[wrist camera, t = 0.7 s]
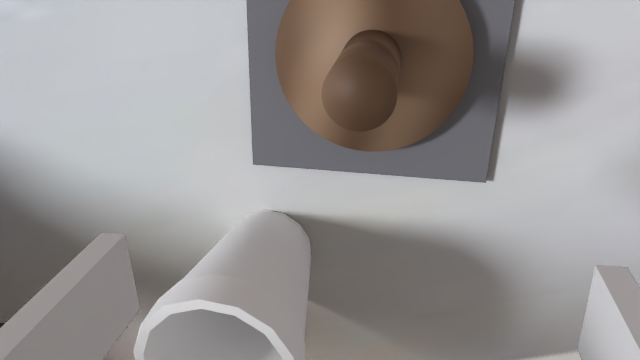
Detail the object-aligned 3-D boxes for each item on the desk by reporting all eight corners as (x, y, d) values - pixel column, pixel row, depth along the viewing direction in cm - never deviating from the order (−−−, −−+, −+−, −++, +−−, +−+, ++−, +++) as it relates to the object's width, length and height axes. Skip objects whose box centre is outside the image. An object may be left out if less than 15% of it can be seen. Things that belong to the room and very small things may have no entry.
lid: (280, 139, 37) (242, 197, 29) (277, -50, 32) (230, -44, 24) (458, 152, 35) (471, 217, 27) (485, -46, 30) (510, -38, 22)
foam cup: (355, 238, 40) (331, 365, 28) (291, 315, 44) (247, 454, 32) (247, 168, 39) (176, 269, 27) (191, 253, 43) (108, 374, 31)
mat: (254, 161, 39) (253, 164, 38) (245, -88, 32) (243, -88, 31) (484, 179, 36) (485, 182, 36) (526, -85, 30) (528, -85, 29)
